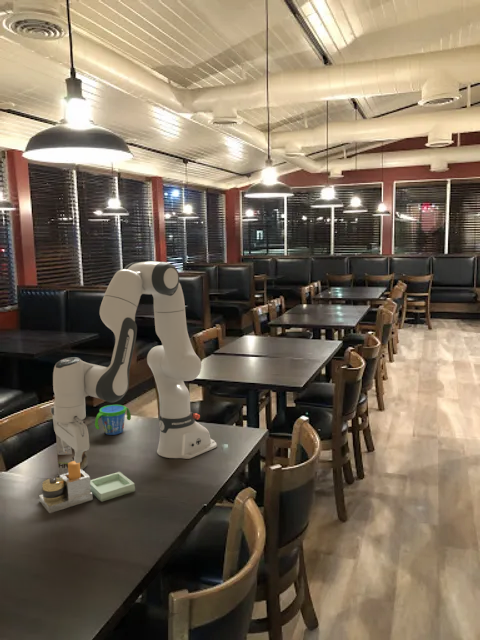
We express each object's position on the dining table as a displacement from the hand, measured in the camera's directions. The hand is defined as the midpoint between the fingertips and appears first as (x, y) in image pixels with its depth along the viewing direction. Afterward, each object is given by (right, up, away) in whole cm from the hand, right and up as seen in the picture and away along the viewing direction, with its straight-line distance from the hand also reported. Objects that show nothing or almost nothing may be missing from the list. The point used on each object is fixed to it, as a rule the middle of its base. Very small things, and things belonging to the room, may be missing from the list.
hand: (72, 456), depth 161 cm
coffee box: (-7, -10, +22) cm, 25 cm away
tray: (+10, -12, +7) cm, 17 cm away
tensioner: (-2, -13, 0) cm, 13 cm away
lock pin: (0, -11, +2) cm, 11 cm away
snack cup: (-1, -5, +57) cm, 57 cm away
